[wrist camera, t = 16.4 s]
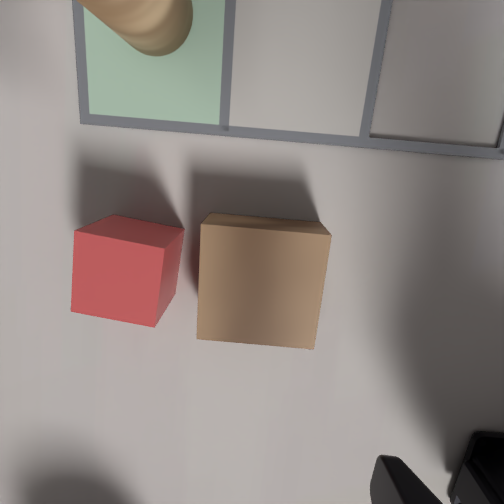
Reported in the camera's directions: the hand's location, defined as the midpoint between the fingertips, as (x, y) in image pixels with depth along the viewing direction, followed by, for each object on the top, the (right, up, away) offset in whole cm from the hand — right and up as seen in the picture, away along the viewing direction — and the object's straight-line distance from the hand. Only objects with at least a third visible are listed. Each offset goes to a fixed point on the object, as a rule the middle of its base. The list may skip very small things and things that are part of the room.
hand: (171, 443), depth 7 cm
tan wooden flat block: (+2, +3, +12) cm, 12 cm away
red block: (-2, +3, +10) cm, 11 cm away
